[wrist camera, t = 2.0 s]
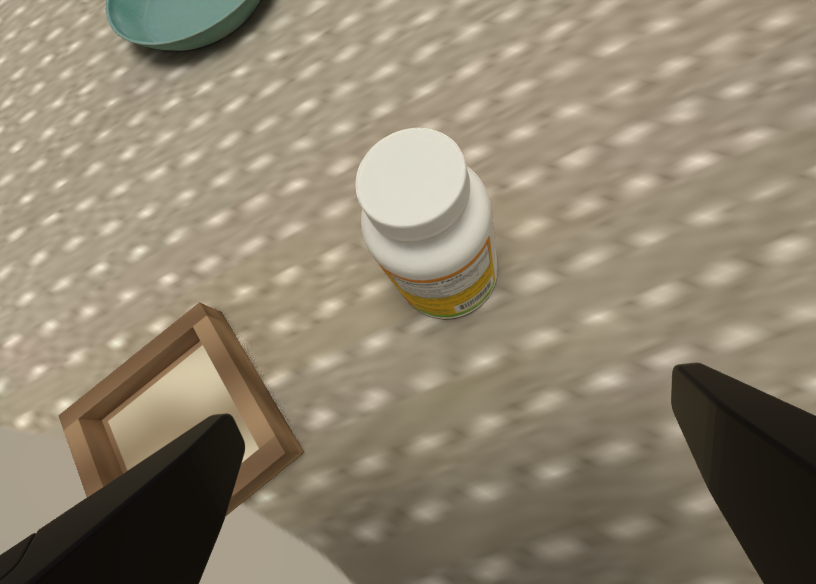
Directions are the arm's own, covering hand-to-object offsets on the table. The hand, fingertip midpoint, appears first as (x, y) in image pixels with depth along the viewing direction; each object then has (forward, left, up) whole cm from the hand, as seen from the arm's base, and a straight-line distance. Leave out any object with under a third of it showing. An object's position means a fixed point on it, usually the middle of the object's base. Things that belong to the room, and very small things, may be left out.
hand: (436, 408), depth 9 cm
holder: (-5, +16, -13) cm, 21 cm away
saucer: (+27, +30, -14) cm, 43 cm away
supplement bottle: (+7, +4, -14) cm, 16 cm away
